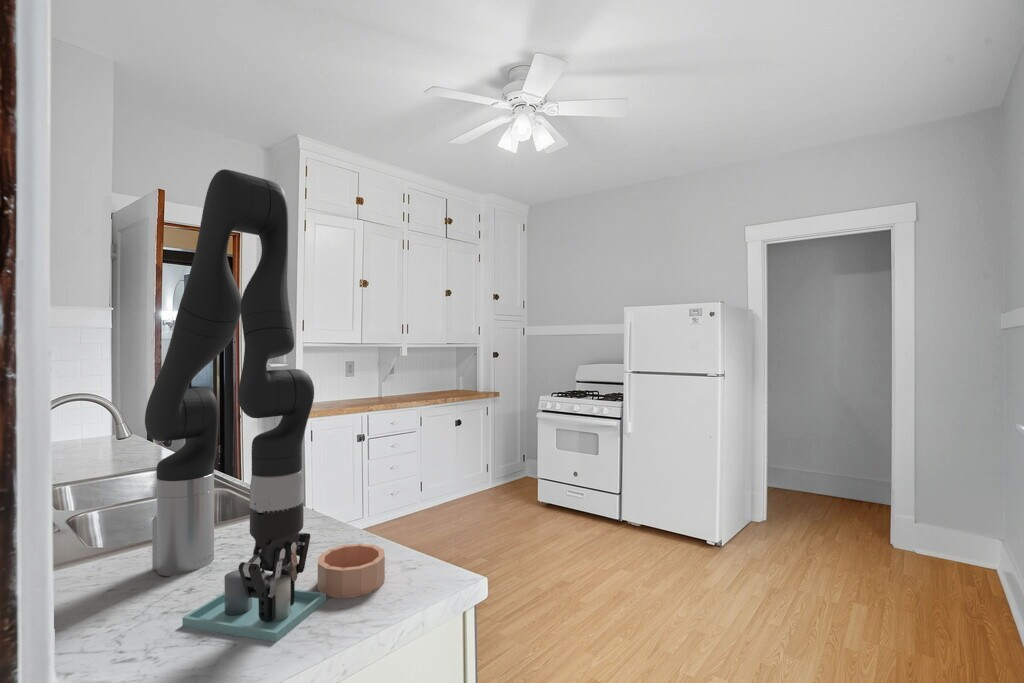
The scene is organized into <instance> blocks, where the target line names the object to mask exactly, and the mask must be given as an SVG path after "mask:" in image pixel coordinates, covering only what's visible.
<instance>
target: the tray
mask: <svg viewBox="0 0 1024 683" xmlns="http://www.w3.org/2000/svg"><path fill="white" fill-rule="evenodd" d="M254 588H255V587H254ZM294 591H295V597H294V604H293V605H292V606H291V614H290V616H289V617H288V618H286V619H284V620H282V621H279V622H266V621H261V620H260V618H259V599H258V598H252V608H251V610H250V611H248V612H247V613H245V614H242V615H238V616H228V615H226V614H225V591H224V592H222V593H221V594H219V595H217V596H216V597H214V598H212V599H211V600H209V601H207V602H206V603H204V604H202V605H201V606H200V607H198V608H196V609H194V610H193V611H191V612H189V613H187V614H186V615H184V616H183V617H182V627H187V628H191V629H198V630H205V631H209V632H215V633H219V634H220V633H222V634H227V635H234V636H239V637H245V638H250V639H256V640H257V639H258V640H262V641H269V642H274V643H277V642H278V641H280V639H282V638H283V637H284V636H285V635H287V634H288V633H290V631H292V629H294V628H295V627H297V626H298V625H299V624H300V623H301V622H302V621H303V620H305V619H306V618H307V617H309V616H310V615H311V614H312V613H313V612H314V611H316V610H317V609H318V608H319V607H321V606H322V605H323V604H324V603H325V602H326V601H327V595H326V593H321V592H320V591H311V590H304V589H297V588H295V590H294Z"/></svg>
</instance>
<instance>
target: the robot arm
mask: <svg viewBox="0 0 1024 683" xmlns="http://www.w3.org/2000/svg"><path fill="white" fill-rule="evenodd" d="M213 175H214V176H213V177H212V178H211V180H210V183H209V184H208V188H207V191H206V194H205V200H204V204H203V209H202V214H201V220H200V226H199V231H198V236H197V242H196V247H195V252H194V256H193V260H192V263H191V268H190V271H189V274H188V279H187V281H186V284H185V287H184V290H183V293H182V297H181V299H180V302H179V307H178V310H177V313H176V317H175V320H174V325H173V330H172V333H171V338H170V341H169V345H168V349H167V351H166V355H165V358H164V361H163V362H162V365H161V368H160V371H159V373H158V376H157V378H156V381H155V383H154V385H153V388H152V390H151V392H150V395H149V398H148V401H147V404H146V408H145V412H144V413H145V414H144V427H145V430H146V433H147V435H148V436H149V438H150V439H152V440H154V441H156V442H171V441H178V440H186V441H185V442H184V444H183V446H182V447H180V448H179V449H178V450H176V452H174V453H171V454H170V455H168V456H166V457H165V458H162V459H160V461H159V462H158V463H157V465H156V516H155V517H153V518H152V521H151V523H152V524H151V526H152V528H151V530H152V534H151V537H152V538H151V539H152V540H151V541H152V542H151V543H152V544H151V545H152V546H151V547H152V548H151V549H152V550H151V551H152V558H151V560H152V561H151V562H152V564H151V565H152V570H153V571H156V573H157V574H158V575H160V576H163V577H172V576H174V575H177V574H178V575H179V574H185V573H189V572H193V571H197V570H200V569H202V568H205V567H206V566H209V565H210V564H212V563H213V561H214V560H215V462H216V458H217V451H218V450H217V449H218V430H219V406H218V401H217V400H218V399H217V396H216V395H215V393H214V392H213V391H212V390H211V389H210V388H206V387H195V388H192V387H191V388H188V387H189V386H190V384H191V383H192V382H193V380H194V379H195V377H197V375H198V374H199V373H200V372H201V371H202V370H203V369H204V368H205V367H207V366H209V364H210V363H211V362H212V361H214V360H215V359H216V358H217V357H218V356H219V355H220V354H221V353H222V352H223V351H224V350H226V348H227V347H228V346H229V344H230V343H231V342H232V340H233V338H234V336H235V333H236V330H237V327H238V324H239V320H240V317H241V324H242V325H241V326H242V332H243V333H242V334H243V342H244V352H243V362H242V369H241V374H240V378H239V384H238V389H237V390H238V391H237V402H238V404H239V407H240V409H241V411H242V412H243V413H244V414H245V415H246V416H247V417H249V418H253V419H264V418H274V417H281V418H280V422H279V423H278V425H277V426H275V427H274V428H272V429H269V430H267V431H264V432H261V433H259V434H257V435H256V436H255V437H254V438H253V439H252V442H251V477H250V484H249V534H250V536H251V537H252V538H253V540H254V541H255V544H254V547H253V552H252V557H251V558H250V559H249V560H248V561H247V562H245V561H243V562H240V563H239V565H238V569H237V570H239V573H240V576H241V579H242V582H243V585H244V588H245V592H246V595H247V597H250V598H258V599H259V618H260V620H261V621H266V622H271V621H273V620H274V619H275V595H274V594H275V588H276V581H277V580H279V578H280V574H284V575H289V576H290V577H291V606H292V605H293V604H294V597H295V591H294V590H295V589H296V588H295V587H296V586H295V583H296V581H297V579H298V575H299V573H300V574H302V573H303V572H304V571H305V566H306V561H307V556H308V551H309V546H310V540H311V534H310V533H307V532H301V531H302V530H303V528H304V478H303V449H302V448H303V439H304V437H305V433H306V432H305V431H306V428H307V424H308V420H309V417H310V414H311V411H312V407H313V403H314V399H315V386H314V384H313V383H314V382H313V380H312V378H311V376H310V375H309V374H308V372H306V371H305V370H303V369H298V368H295V369H294V368H289V369H271V370H268V368H267V366H268V365H267V363H268V361H269V360H271V359H275V358H280V357H282V356H286V355H288V354H289V353H291V352H292V351H293V350H294V347H295V336H294V330H293V323H292V315H291V310H290V303H289V293H288V291H289V288H288V264H289V263H288V261H289V207H288V200H287V196H286V193H285V191H284V189H283V187H282V186H281V185H280V184H278V183H276V182H274V181H272V180H269V179H265V178H262V177H258V176H254V175H252V174H247V173H243V172H239V171H236V170H231V169H220V170H218V171H216V173H215V174H213ZM232 232H240V233H245V234H251V235H256V236H259V240H260V244H261V253H260V258H259V259H260V260H259V262H258V264H257V266H256V269H255V271H254V272H253V273H252V276H251V278H250V279H249V281H248V283H247V285H246V287H245V289H244V290H243V294H242V296H241V293H240V290H239V288H238V287H239V286H238V285H237V284H238V283H237V282H236V280H235V277H234V276H233V273H232V269H231V267H230V263H229V260H228V246H229V240H230V237H231V233H232ZM298 557H299V559H298ZM266 571H267V572H266ZM270 572H272V573H270ZM265 580H267V581H268V582H269V583H268V588H265ZM254 587H255V588H254Z"/></svg>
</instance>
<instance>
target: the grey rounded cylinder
mask: <svg viewBox="0 0 1024 683" xmlns="http://www.w3.org/2000/svg"><path fill="white" fill-rule="evenodd" d="M224 592H225V614H226V615H228V616H238V615H242V614H245V613H247V612H248V611H250V610H251V608H252V598H250V597H247V595H246V592H245V588H244V585H243V582H242V579H241V576H240V573H239V569H235V570H232V571H230V572H228V573H226V574H225V575H224Z"/></svg>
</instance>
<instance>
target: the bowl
mask: <svg viewBox="0 0 1024 683" xmlns="http://www.w3.org/2000/svg"><path fill="white" fill-rule="evenodd" d="M385 559H386V556H385V549H383V548H382V547H379V546H378V545H375V544H369V543H353V544H342V545H339V546H336V547H333V548H330V549H327V550H326V551H325V552H322V553H321V554H320V555H319V556H318V558H317V589H318V590H319V591H318V592H320V593H326V597H332V598H338V599H340V598H341V599H343V598H345V599H346V598H354V597H359V596H360V597H361V596H363V595H366V594H367V595H368V594H369V593H372V592H374V591H376V590H377V589H379V588H380V587H382V585H383V584H384V582H385V580H386V578H385V574H386V573H385V572H386V570H385V568H386V563H385Z"/></svg>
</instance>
